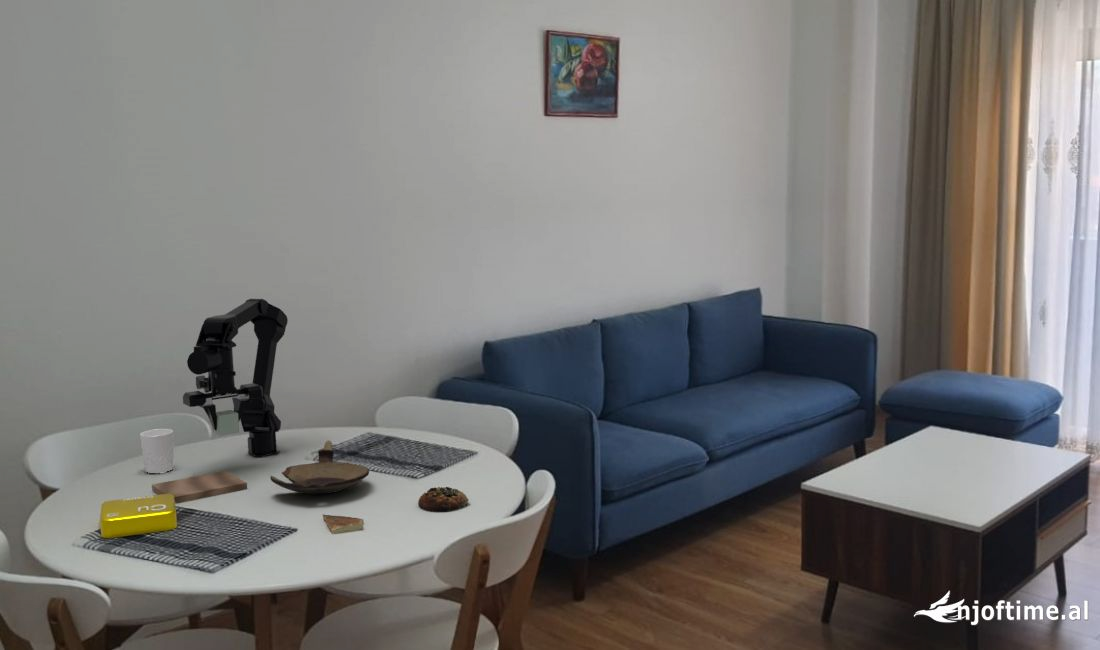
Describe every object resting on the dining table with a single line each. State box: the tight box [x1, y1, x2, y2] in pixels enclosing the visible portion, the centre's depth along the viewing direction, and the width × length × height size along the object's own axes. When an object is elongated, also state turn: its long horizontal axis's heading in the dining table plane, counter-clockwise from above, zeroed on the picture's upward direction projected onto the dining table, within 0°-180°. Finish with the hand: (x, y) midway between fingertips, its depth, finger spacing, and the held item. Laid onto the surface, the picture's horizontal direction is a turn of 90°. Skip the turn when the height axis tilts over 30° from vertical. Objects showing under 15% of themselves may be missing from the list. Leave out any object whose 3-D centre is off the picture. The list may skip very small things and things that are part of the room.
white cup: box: [139, 428, 175, 474], centre depth 270 cm, size 8×8×10 cm
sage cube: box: [211, 409, 240, 437], centre depth 267 cm, size 5×5×5 cm
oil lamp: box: [269, 439, 370, 495], centre depth 252 cm, size 22×30×8 cm
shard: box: [322, 514, 365, 535], centre depth 226 cm, size 11×8×2 cm
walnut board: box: [151, 470, 248, 504], centre depth 253 cm, size 18×14×2 cm
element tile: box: [99, 494, 178, 539], centre depth 229 cm, size 15×15×5 cm
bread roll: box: [417, 486, 469, 513], centre depth 237 cm, size 11×11×5 cm
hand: (225, 428), depth 267 cm, fingers closed on sage cube, 5 cm apart
